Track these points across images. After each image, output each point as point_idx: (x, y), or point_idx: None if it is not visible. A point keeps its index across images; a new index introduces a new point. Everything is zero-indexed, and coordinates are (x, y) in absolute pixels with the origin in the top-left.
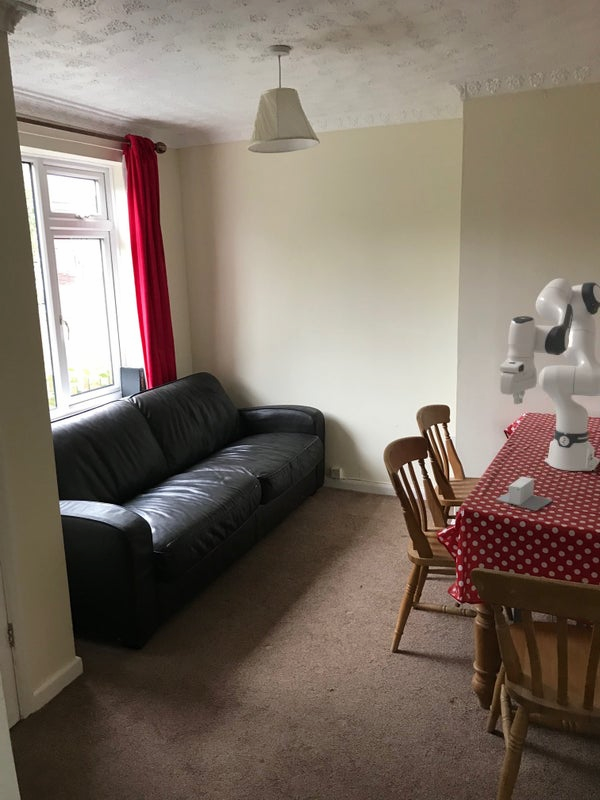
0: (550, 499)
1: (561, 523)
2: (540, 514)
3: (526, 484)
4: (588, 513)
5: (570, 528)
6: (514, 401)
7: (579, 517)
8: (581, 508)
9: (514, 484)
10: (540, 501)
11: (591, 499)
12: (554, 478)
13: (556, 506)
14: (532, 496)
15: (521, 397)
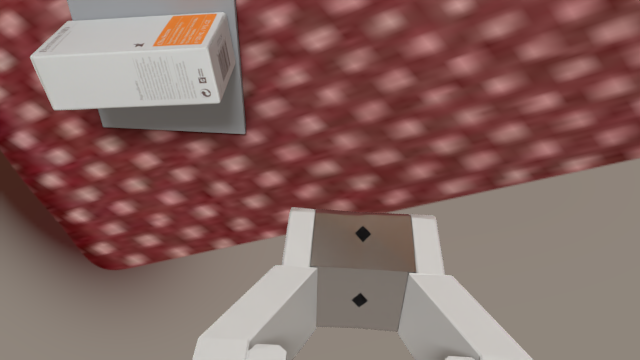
0: (242, 128)
1: (84, 208)
2: (91, 144)
3: (120, 107)
4: (226, 236)
5: (74, 233)
6: (286, 236)
7: (173, 228)
8: (253, 213)
9: (65, 71)
10: (192, 109)
11: None
12: (562, 36)
13: (207, 156)
14: None
15: (405, 339)
